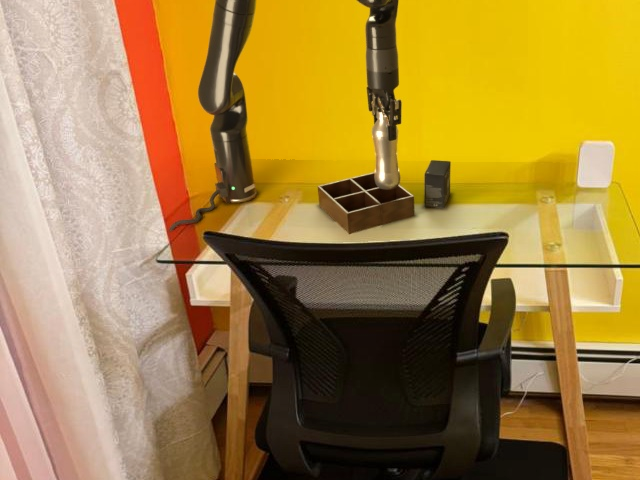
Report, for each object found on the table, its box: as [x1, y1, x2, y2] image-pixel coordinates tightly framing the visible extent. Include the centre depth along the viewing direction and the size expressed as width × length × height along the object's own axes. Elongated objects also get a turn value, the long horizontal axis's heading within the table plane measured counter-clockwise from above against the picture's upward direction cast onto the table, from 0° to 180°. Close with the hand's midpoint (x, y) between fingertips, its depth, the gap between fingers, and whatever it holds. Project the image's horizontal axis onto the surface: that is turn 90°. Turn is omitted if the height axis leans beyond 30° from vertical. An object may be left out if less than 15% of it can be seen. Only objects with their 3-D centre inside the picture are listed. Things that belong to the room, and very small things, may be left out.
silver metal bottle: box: [371, 108, 402, 190], centre depth 195 cm, size 6×7×20 cm
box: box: [423, 159, 452, 209], centre depth 207 cm, size 9×6×10 cm, turn 167°
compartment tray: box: [317, 171, 416, 235], centre depth 205 cm, size 19×19×6 cm
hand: (385, 135), depth 193 cm, fingers closed on silver metal bottle, 6 cm apart
